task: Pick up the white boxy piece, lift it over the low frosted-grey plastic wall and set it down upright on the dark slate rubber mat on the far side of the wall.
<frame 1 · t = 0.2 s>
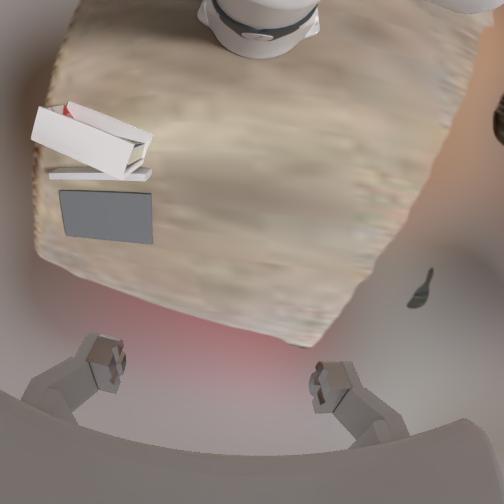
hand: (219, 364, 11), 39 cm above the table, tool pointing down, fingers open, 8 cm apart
white boxy piece: (101, 129, 40), on the table
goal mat: (104, 215, 48), on the table
low wall: (100, 170, 43), on the table
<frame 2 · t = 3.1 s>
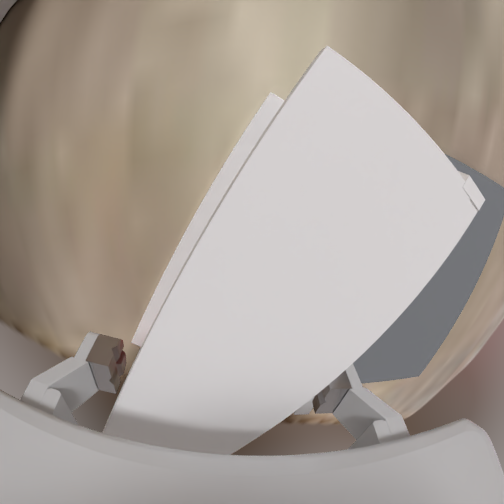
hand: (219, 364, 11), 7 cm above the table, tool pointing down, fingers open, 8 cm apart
white boxy piece: (219, 266, 17), on the table
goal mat: (431, 291, 19), on the table
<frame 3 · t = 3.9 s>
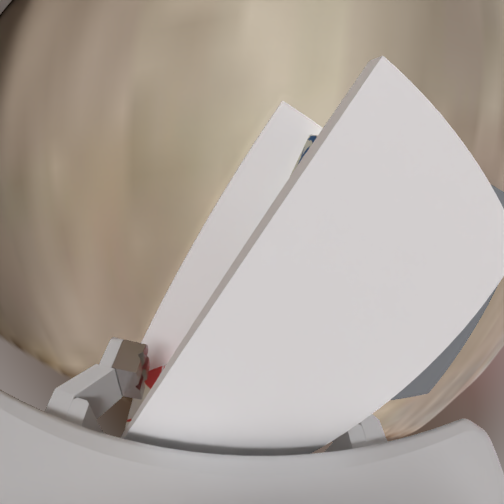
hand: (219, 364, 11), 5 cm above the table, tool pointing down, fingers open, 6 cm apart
white boxy piece: (224, 289, 15), on the table, touching gripper
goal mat: (445, 311, 17), on the table
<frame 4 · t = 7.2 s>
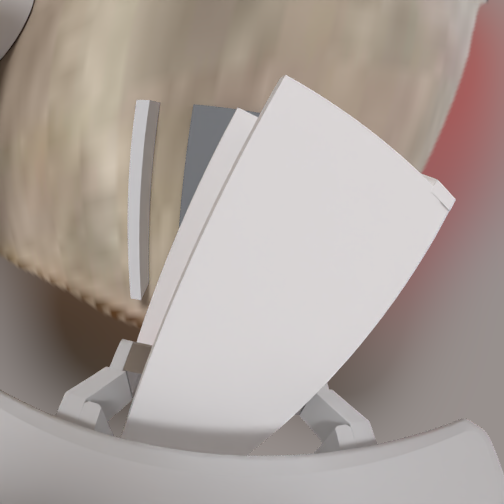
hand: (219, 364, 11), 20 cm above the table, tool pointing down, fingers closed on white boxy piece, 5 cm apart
white boxy piece: (206, 282, 17), point 13 cm above the table, touching gripper
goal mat: (230, 209, 28), on the table
low wall: (144, 199, 27), on the table
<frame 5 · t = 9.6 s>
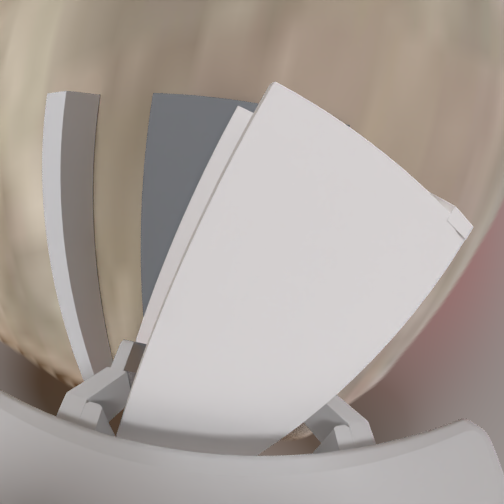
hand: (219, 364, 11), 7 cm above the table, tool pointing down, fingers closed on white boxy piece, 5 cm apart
white boxy piece: (204, 286, 16), point 1 cm above the table, touching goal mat, gripper
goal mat: (224, 277, 17), on the table
low wall: (88, 257, 16), on the table
when the fingers open (7 cm above the table, at t = 10.1 s): white boxy piece stays where it is, resting on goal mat.
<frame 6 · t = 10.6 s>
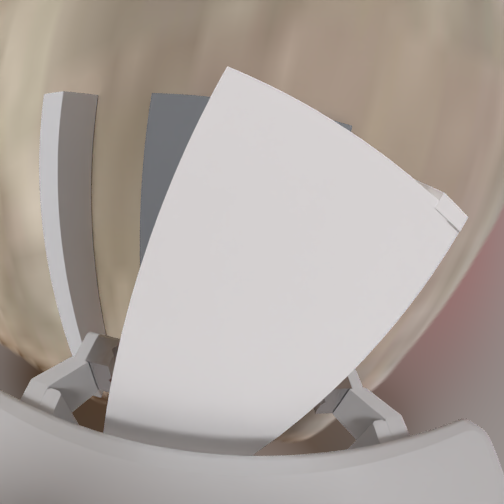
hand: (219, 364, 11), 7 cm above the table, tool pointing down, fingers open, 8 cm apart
white boxy piece: (205, 288, 16), resting on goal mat
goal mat: (224, 280, 17), on the table
low wall: (86, 259, 16), on the table
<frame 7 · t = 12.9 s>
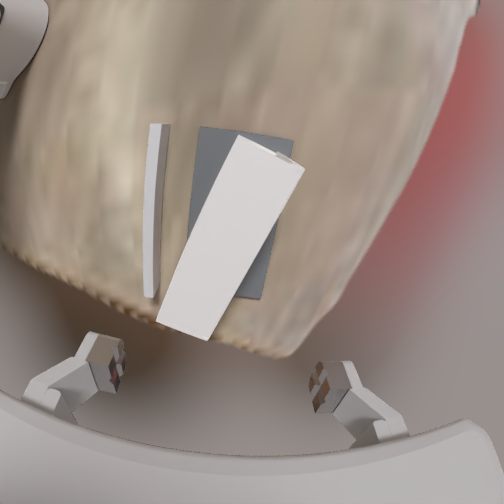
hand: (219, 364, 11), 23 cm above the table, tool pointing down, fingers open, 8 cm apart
white boxy piece: (222, 223, 32), resting on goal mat
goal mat: (233, 219, 32), on the table
low wall: (157, 209, 31), on the table
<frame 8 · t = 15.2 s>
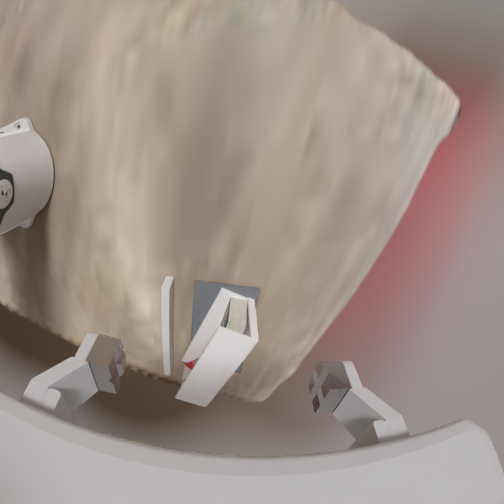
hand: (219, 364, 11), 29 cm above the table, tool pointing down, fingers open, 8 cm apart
white boxy piece: (213, 334, 47), resting on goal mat
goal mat: (220, 331, 47), on the table
low wall: (169, 324, 46), on the table
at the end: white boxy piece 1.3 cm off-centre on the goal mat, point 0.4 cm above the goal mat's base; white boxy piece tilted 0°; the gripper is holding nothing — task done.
